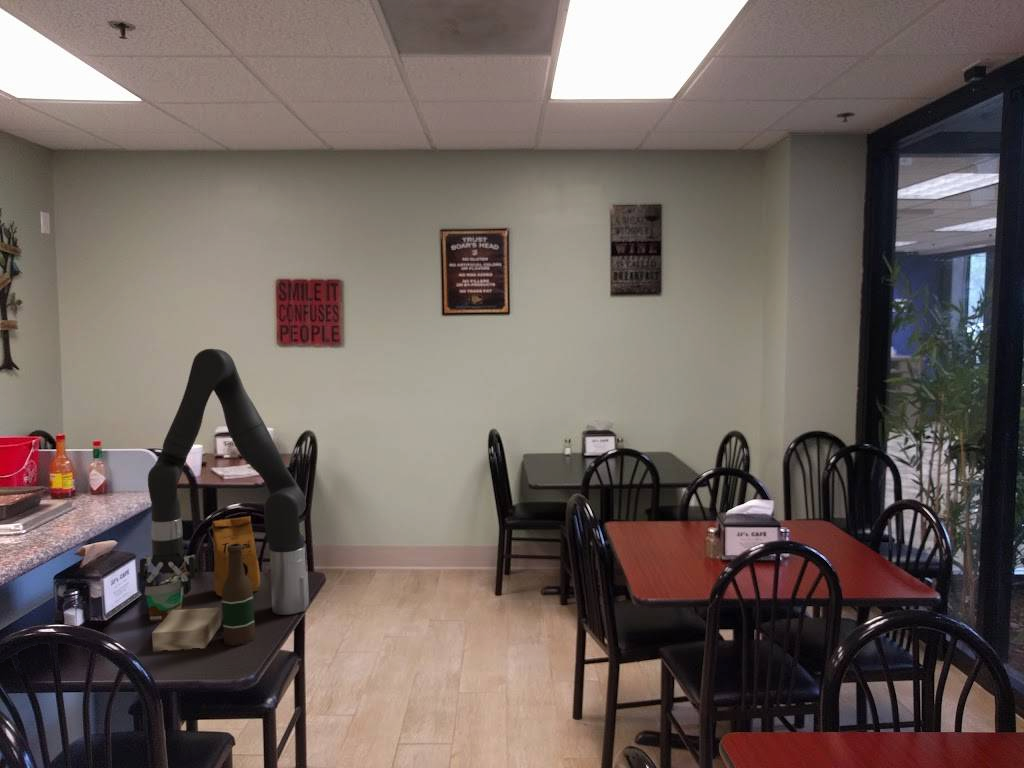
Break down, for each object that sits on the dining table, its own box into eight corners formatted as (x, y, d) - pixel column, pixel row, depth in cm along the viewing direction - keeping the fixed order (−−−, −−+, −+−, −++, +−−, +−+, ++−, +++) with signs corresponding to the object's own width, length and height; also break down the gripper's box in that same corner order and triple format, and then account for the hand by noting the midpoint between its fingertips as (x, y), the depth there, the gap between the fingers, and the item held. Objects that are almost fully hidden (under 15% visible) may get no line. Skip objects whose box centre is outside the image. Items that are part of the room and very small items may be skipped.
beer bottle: (230, 632, 188) (225, 540, 186) (261, 632, 188) (256, 540, 185) (217, 646, 180) (212, 550, 178) (249, 646, 180) (244, 549, 178)
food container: (167, 626, 193) (165, 588, 192) (146, 624, 194) (144, 587, 193) (196, 607, 205) (194, 572, 204) (176, 606, 206) (174, 571, 205)
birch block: (221, 625, 193) (220, 607, 193) (204, 649, 179) (203, 629, 179) (173, 628, 192) (172, 610, 191) (153, 652, 178) (151, 632, 178)
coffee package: (261, 593, 215) (257, 519, 213) (215, 601, 210) (211, 525, 208) (258, 582, 224) (254, 511, 222) (214, 589, 219) (209, 516, 217)
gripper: (199, 530, 202) (201, 588, 204) (144, 532, 201) (147, 590, 202) (190, 538, 195) (192, 598, 196) (133, 540, 193) (136, 600, 195)
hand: (169, 594), depth 199 cm, fingers open, 8 cm apart
